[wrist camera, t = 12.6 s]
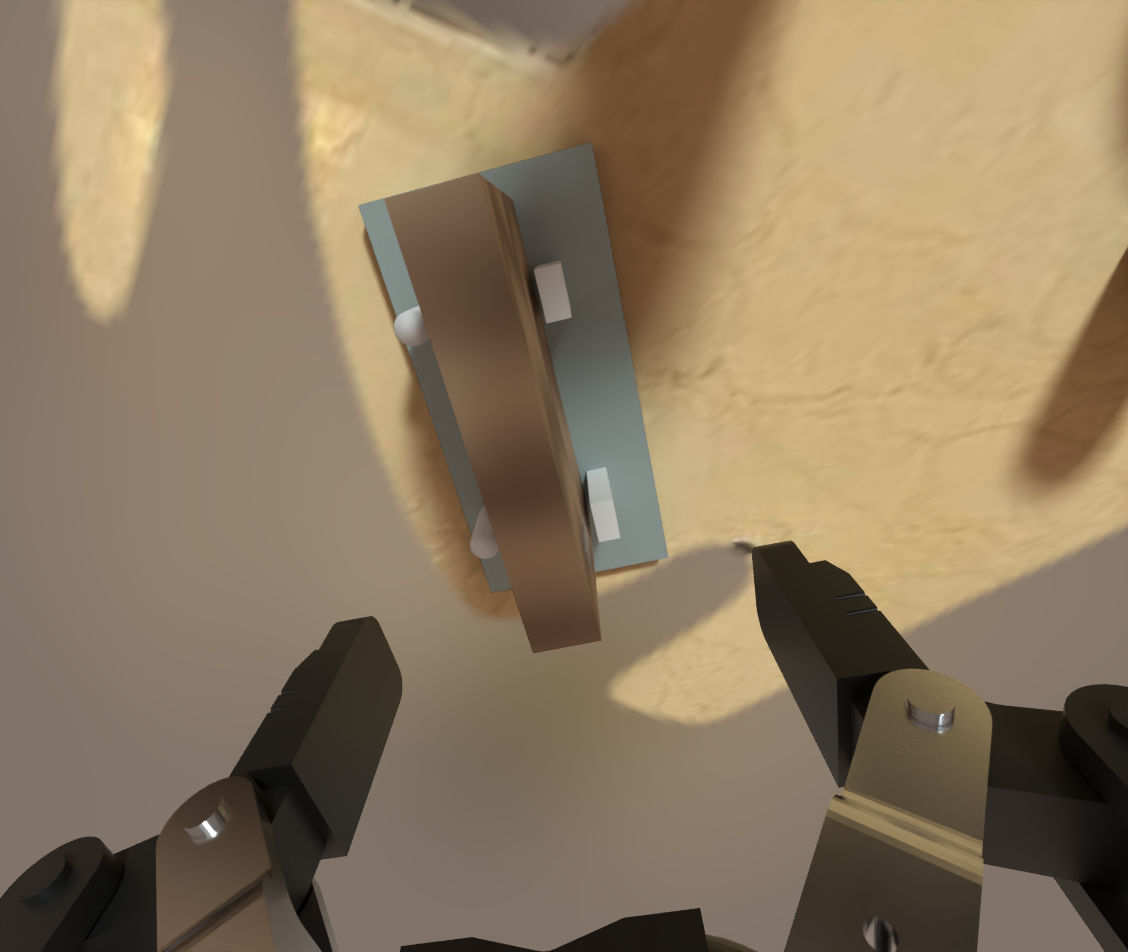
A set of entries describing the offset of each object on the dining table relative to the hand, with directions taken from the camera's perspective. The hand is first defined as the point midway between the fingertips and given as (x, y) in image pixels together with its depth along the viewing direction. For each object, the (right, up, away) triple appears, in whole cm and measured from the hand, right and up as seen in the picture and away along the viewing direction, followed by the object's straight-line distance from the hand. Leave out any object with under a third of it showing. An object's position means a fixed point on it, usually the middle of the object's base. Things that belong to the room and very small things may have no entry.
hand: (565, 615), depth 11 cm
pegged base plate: (-2, +8, +21) cm, 23 cm away
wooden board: (-2, +8, +19) cm, 21 cm away
